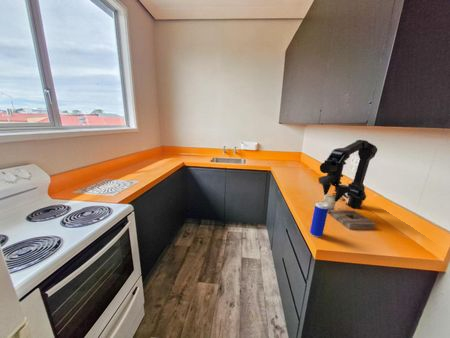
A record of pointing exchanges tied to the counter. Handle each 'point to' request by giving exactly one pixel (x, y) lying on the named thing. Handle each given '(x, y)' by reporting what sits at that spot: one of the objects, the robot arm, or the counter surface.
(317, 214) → the beverage can
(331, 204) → the beech leg
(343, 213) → the socket board
